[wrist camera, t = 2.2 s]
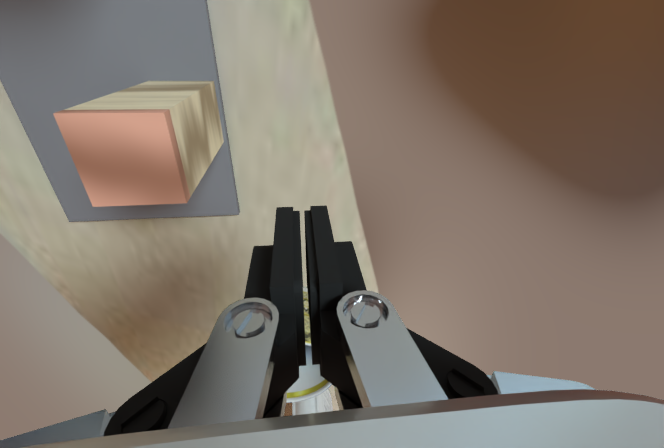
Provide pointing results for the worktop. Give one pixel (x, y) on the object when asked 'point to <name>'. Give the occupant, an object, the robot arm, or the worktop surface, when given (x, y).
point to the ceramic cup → (307, 368)
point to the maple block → (144, 142)
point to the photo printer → (313, 404)
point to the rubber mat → (107, 83)
